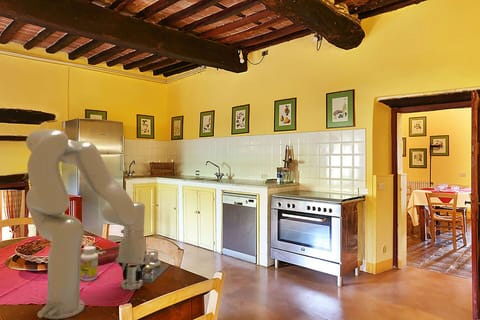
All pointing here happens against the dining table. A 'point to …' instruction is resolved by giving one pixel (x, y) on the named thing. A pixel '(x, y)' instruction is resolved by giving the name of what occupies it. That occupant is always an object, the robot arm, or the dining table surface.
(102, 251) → the hardcover book
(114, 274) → the dining table surface
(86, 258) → the supplement bottle
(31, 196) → the robot arm
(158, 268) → the carrier
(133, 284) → the grey flanged socket
